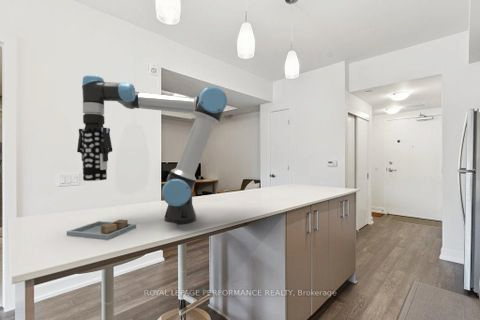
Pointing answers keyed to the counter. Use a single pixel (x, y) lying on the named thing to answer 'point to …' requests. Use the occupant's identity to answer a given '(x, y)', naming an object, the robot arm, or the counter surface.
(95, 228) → the tray
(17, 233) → the counter surface
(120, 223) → the walnut block
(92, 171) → the white-spotted black cylinder
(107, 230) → the walnut block
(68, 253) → the counter surface
